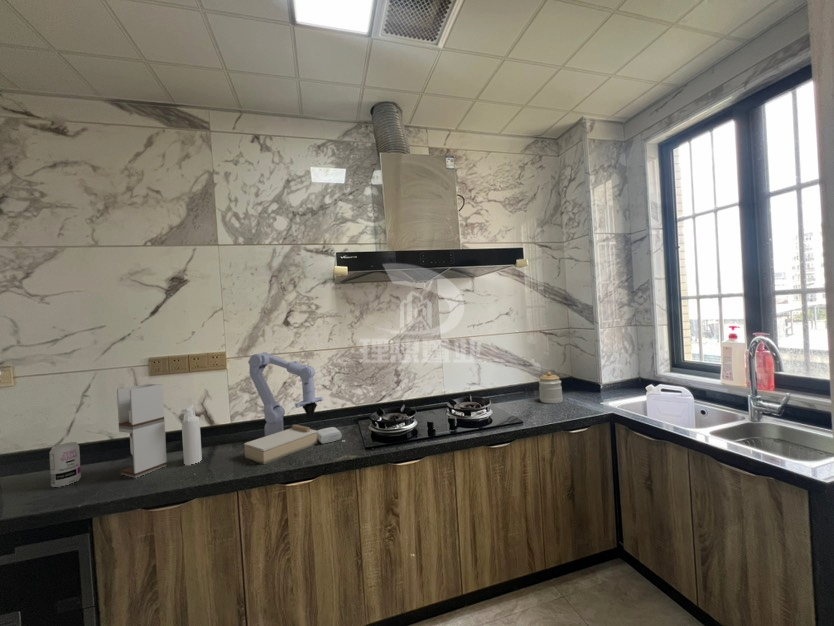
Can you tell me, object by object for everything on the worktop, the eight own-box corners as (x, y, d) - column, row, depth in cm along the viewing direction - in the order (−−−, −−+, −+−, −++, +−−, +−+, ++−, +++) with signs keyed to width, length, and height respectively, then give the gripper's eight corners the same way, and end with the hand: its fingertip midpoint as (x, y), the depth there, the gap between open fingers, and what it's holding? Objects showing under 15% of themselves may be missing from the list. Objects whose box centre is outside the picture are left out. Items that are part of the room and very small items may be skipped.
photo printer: (342, 439, 164) (334, 433, 175) (341, 430, 164) (334, 425, 175) (320, 445, 159) (314, 438, 170) (320, 435, 159) (313, 429, 170)
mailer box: (245, 457, 150) (244, 445, 151) (297, 438, 171) (296, 428, 171) (264, 464, 141) (263, 452, 141) (317, 443, 161) (316, 432, 162)
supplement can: (64, 479, 140) (62, 442, 140) (86, 477, 140) (84, 440, 141) (44, 489, 132) (42, 450, 132) (68, 487, 132) (66, 447, 133)
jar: (542, 404, 202) (539, 374, 202) (538, 399, 215) (535, 370, 215) (565, 403, 200) (563, 373, 200) (560, 398, 213) (557, 369, 213)
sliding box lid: (244, 445, 151) (244, 439, 151) (296, 427, 171) (296, 422, 171) (263, 451, 141) (263, 444, 141) (316, 432, 162) (316, 426, 162)
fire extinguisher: (208, 454, 157) (202, 400, 156) (197, 466, 145) (191, 407, 145) (191, 457, 155) (186, 402, 155) (179, 469, 143) (173, 409, 143)
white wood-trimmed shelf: (152, 464, 150) (148, 383, 151) (166, 466, 146) (162, 384, 147) (121, 475, 140) (116, 389, 141) (135, 478, 136) (130, 389, 137)
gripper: (300, 395, 163) (302, 423, 163) (325, 388, 175) (327, 415, 174) (292, 394, 167) (293, 422, 167) (317, 388, 179) (318, 414, 178)
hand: (310, 418), depth 171 cm, fingers closed
